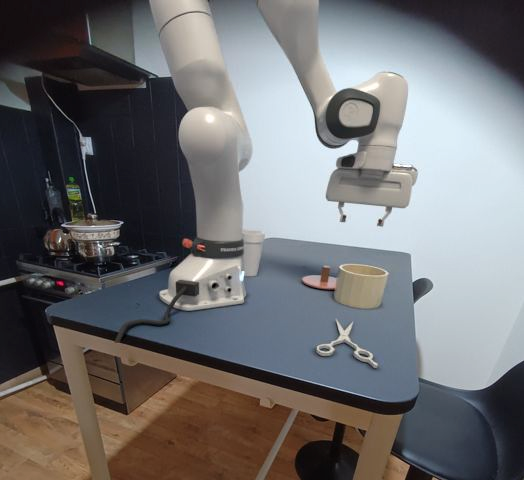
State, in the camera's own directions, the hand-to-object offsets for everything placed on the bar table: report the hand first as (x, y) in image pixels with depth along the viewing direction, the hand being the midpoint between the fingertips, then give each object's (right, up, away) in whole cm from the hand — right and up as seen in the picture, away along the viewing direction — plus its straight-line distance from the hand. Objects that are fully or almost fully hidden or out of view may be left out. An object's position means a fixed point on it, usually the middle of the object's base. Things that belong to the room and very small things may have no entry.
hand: (360, 224), depth 82 cm
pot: (0, -19, +5) cm, 20 cm away
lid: (-6, -12, +17) cm, 21 cm away
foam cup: (-30, -8, +22) cm, 38 cm away
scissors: (-9, -31, -18) cm, 37 cm away
